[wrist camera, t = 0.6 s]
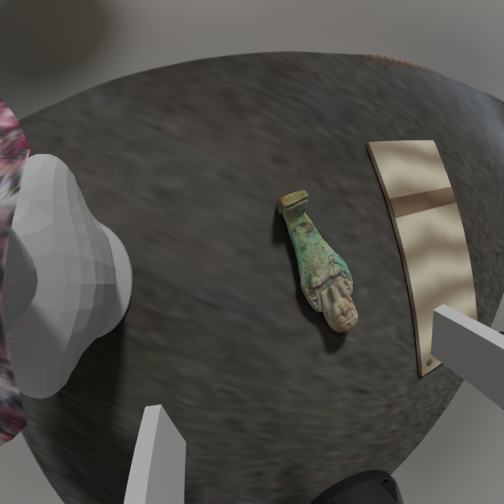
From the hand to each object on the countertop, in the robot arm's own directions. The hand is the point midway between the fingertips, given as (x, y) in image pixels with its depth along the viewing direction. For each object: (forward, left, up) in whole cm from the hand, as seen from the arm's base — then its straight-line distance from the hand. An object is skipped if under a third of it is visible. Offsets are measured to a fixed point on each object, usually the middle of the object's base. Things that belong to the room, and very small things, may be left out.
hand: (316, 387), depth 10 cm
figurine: (+5, -8, -18) cm, 20 cm away
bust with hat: (+9, +15, -18) cm, 25 cm away
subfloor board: (+2, -27, -17) cm, 32 cm away
